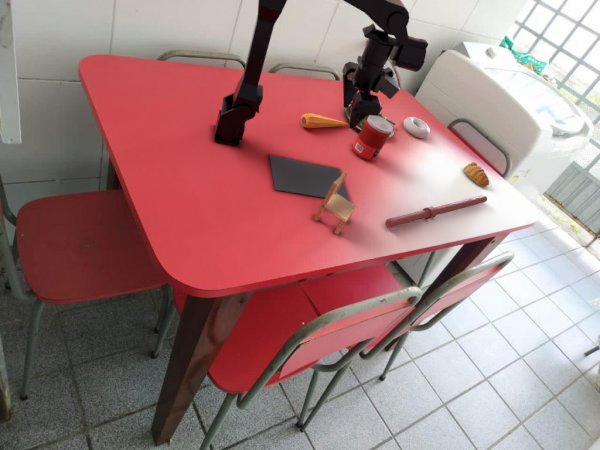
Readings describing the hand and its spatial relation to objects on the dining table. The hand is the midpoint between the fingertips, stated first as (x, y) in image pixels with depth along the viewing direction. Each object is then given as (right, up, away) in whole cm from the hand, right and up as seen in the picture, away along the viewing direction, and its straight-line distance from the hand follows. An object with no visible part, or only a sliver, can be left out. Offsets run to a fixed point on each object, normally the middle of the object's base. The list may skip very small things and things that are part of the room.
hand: (348, 117), depth 103 cm
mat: (-10, -15, +1) cm, 18 cm away
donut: (+29, +7, +44) cm, 53 cm away
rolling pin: (+27, -24, +12) cm, 38 cm away
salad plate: (+10, +7, +34) cm, 36 cm away
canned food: (+7, -6, +20) cm, 22 cm away
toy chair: (-5, -26, -6) cm, 27 cm away
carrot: (-2, +5, +24) cm, 25 cm away
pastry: (+47, -11, +36) cm, 60 cm away
